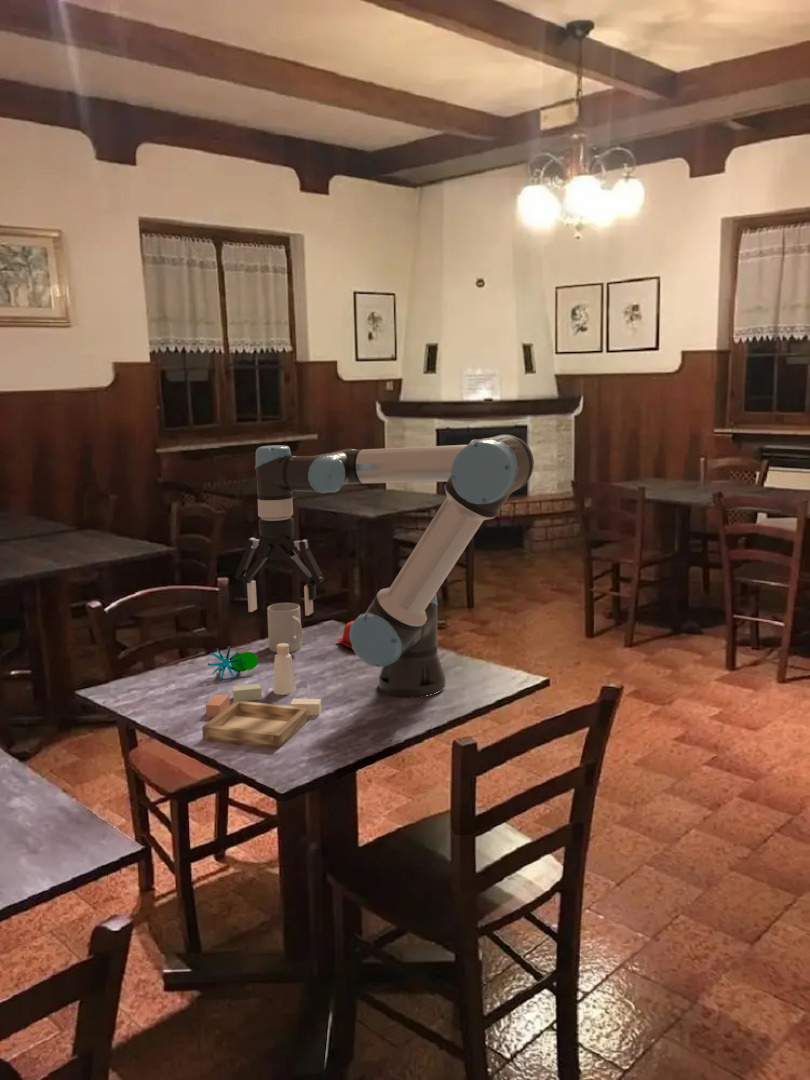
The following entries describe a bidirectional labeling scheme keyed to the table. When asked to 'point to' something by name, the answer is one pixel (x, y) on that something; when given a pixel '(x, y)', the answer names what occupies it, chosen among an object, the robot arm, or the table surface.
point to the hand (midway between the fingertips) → (280, 612)
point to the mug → (284, 626)
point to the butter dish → (346, 635)
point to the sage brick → (247, 692)
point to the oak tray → (256, 724)
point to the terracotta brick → (217, 705)
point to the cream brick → (309, 705)
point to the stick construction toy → (235, 662)
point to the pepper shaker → (283, 671)
